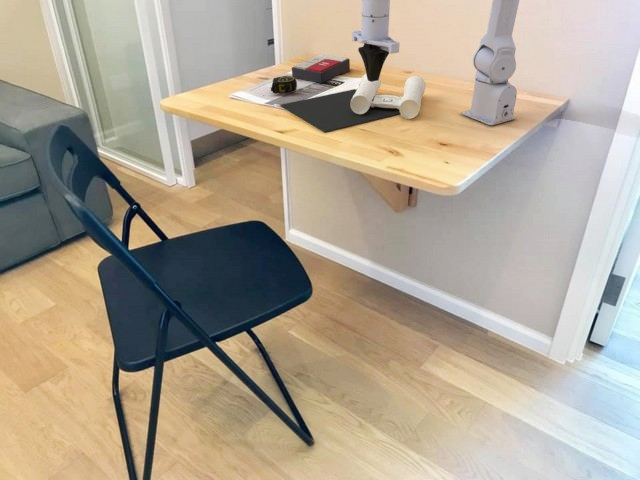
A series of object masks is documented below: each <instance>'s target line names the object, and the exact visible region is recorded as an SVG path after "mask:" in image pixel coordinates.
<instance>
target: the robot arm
mask: <svg viewBox="0 0 640 480" xmlns="http://www.w3.org/2000/svg"><path fill="white" fill-rule="evenodd" d="M519 5H520V0H492V3H491V9H490V13H489V14H490V15H489V17H488V18H489V19H488V24H487V29H486V33H484V35H483V36H482V37H481V39H480V42H479V45H478V48H477V49H476V51H475V52H474V54H473V57H472V58H473V59H472V65H473V67H474V68H475V70H476V73H475V77H474V85H473V92H472V99H471V105H470V110H465V111H463V112H462V115H463V116H466V117H467V118H471V119H473V120H475V121H478V122H481V123H483V124H485V125H488V126H495V125H498V124H499V125H500V124H502V123H507V122H509V121H513V120H515V116H514V112H515V105H516V101H517V94H518V92H517V88H516V86H515V85H512V84H511V83H510V81H509V79H510V78H511V77H512V76H513V75H514V74H515V72H516V69H517V61H516V50H517V48H516V44H515V42H514V38H513V33H514V27H515V23H516V19H517V13H518V10H519ZM390 6H391V0H361V30H354V31H351V41H352V42H357V43H358V44H363V46H360V47H358V48H357V49H358V50H357V51H358V53H359V55H360V57H361V60H362V62H363V65H364V69H365V74H367V79H368V81H371V82H373V81H378V80H379V78H380V77H381V72H382V69H383V66H384V65H385V61H386V59H387V57H388V56H389V54H391V55H393V54H397V53H400V42H398V41H396V40H394V39H393V38H392V37H390V36H389V30H390V29H389V27H390V8H391V7H390Z"/></svg>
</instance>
